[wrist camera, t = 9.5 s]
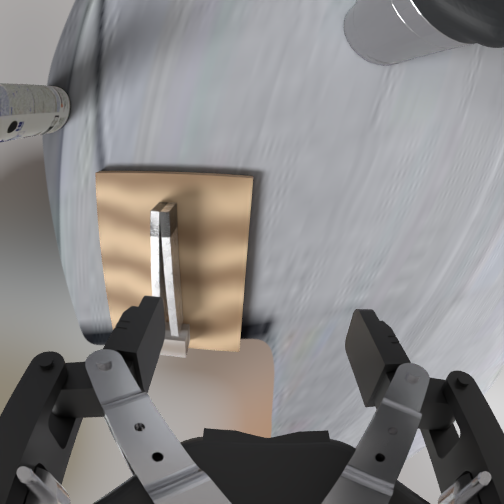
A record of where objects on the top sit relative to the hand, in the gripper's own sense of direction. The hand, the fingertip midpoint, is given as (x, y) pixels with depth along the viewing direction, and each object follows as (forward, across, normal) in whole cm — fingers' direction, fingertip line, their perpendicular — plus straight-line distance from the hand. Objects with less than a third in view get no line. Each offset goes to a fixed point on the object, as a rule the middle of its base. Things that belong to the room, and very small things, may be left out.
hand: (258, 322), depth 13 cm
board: (+28, +10, +12) cm, 32 cm away
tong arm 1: (+26, +11, +11) cm, 31 cm away
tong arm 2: (+26, +9, +11) cm, 30 cm away
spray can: (+28, +28, -10) cm, 41 cm away
